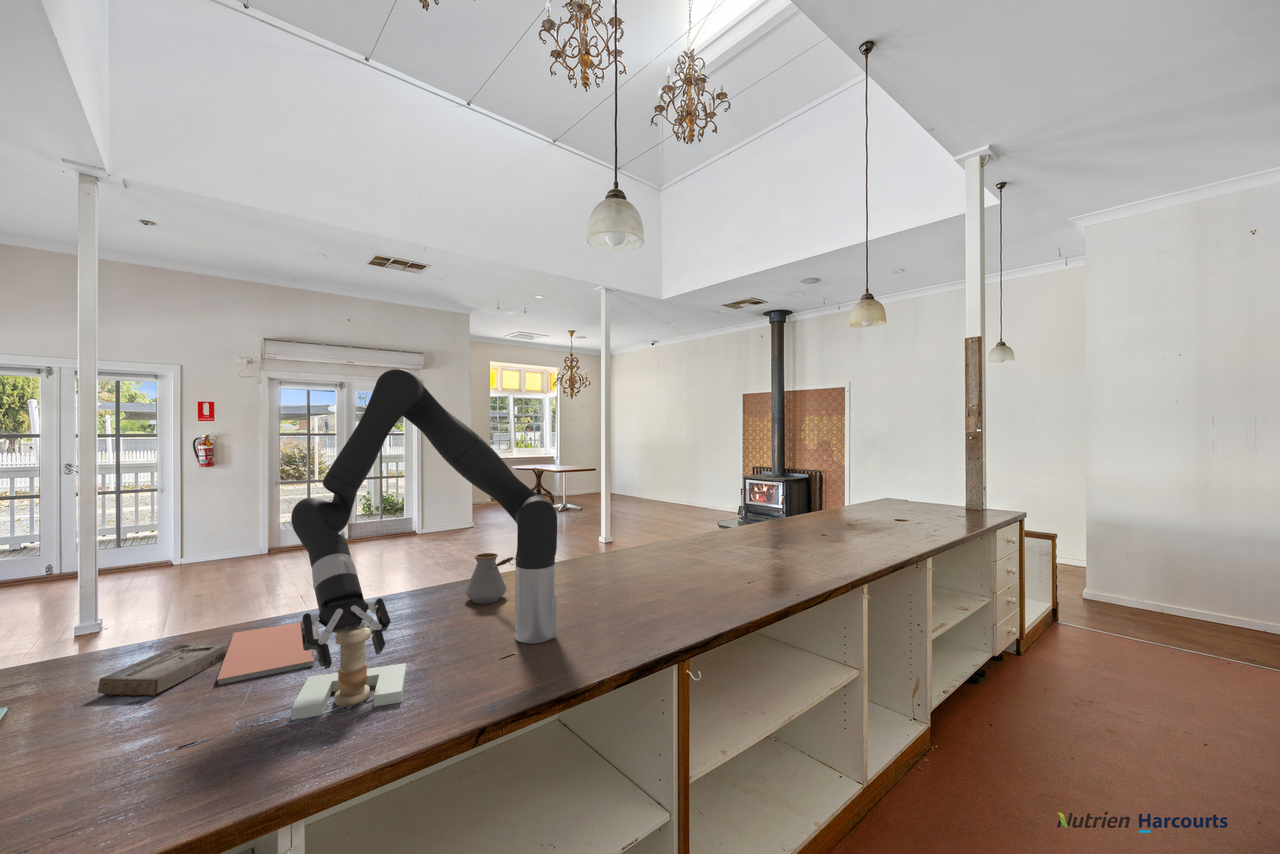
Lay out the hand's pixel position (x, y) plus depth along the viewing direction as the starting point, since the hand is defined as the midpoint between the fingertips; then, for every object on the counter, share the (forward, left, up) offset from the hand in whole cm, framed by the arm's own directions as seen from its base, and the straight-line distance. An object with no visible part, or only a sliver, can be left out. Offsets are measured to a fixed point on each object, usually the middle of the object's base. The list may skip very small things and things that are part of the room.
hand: (355, 659), depth 94 cm
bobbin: (+1, -1, -8) cm, 8 cm away
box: (+36, -24, -8) cm, 44 cm away
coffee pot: (-29, -47, -8) cm, 55 cm away
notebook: (+20, -30, -8) cm, 37 cm away
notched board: (0, -3, -7) cm, 8 cm away
